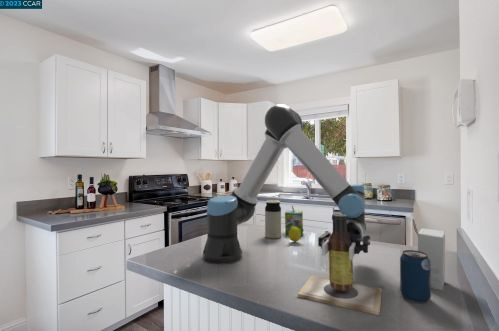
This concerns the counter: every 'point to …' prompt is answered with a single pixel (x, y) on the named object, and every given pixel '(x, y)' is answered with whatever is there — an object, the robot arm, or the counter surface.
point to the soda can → (415, 276)
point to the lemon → (294, 232)
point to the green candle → (293, 220)
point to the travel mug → (273, 219)
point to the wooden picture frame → (343, 295)
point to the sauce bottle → (340, 255)
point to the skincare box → (434, 254)
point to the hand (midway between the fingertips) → (336, 252)
